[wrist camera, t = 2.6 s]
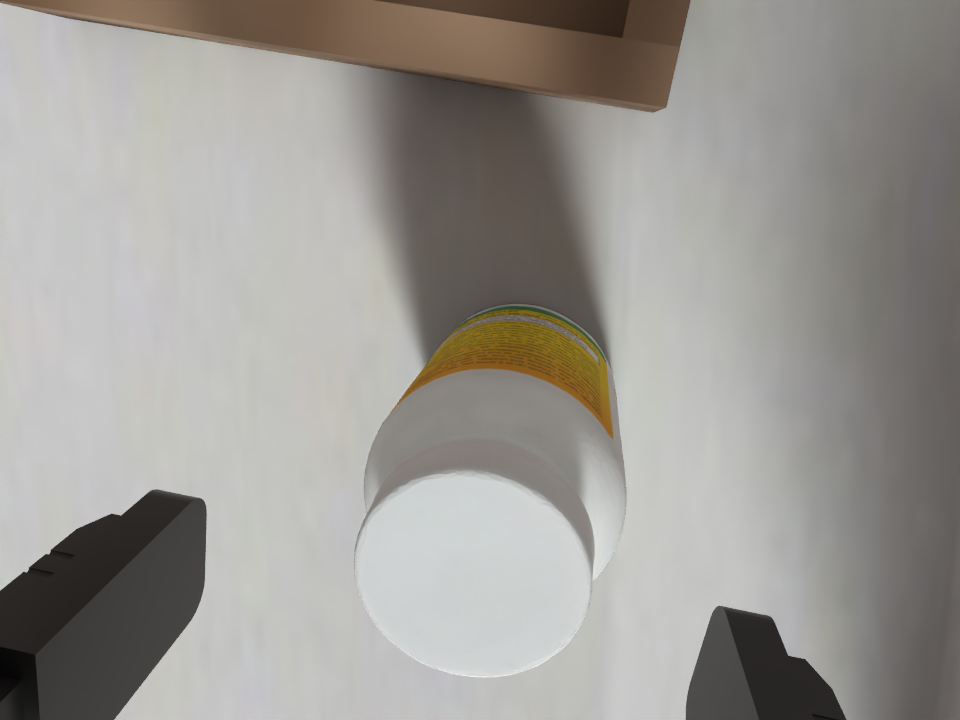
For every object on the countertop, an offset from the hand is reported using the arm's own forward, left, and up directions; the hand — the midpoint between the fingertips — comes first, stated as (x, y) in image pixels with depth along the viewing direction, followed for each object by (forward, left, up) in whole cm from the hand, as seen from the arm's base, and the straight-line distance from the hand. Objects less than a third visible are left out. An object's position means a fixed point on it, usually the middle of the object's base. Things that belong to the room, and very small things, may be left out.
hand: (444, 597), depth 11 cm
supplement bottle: (0, 0, -10) cm, 10 cm away
